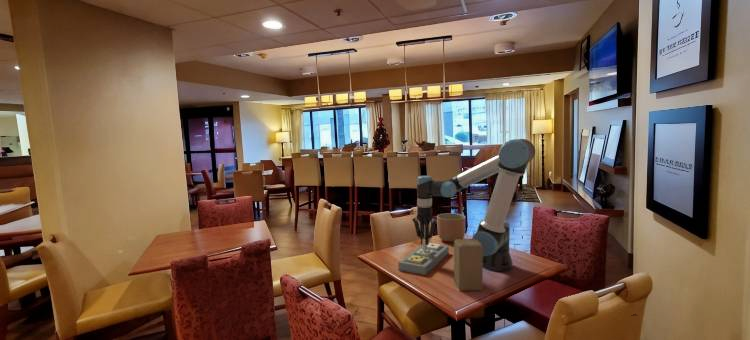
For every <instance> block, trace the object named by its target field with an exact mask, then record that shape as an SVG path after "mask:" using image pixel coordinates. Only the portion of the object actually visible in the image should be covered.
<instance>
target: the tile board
mask: <svg viewBox="0 0 750 340" xmlns="http://www.w3.org/2000/svg"><path fill="white" fill-rule="evenodd" d="M420 249H422V244H421V245H420V246H419V247H417V248H416V249H414V250H413V251H412V252H411V253H409V254H407V255H405V257H404V258H401V260H399V261H398V271H400V272H401V271H402V272H407V273H412V274H417V275H422V276H426V275H427V274H428V273H429V272H431V270H433V269H434V267H436V266H437V265H438V264H439V263H440V262H441V261H442V260H443V259H444V258H446V256H447V255H449V245H442V244H441V250H440V251H435V250H434V256H433V257H431V258H430V257H426V263H425V264H423V265H420V264H415V263H409V262H407V259H408V258H410V257H411V256H412V255H416V252H417V251H419V250H420ZM416 256H418V255H416ZM422 257H424V256H422ZM436 264H437V265H436Z"/></svg>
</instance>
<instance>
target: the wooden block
mask: <svg viewBox="0 0 750 340" xmlns="http://www.w3.org/2000/svg"><path fill="white" fill-rule="evenodd" d="M483 269H484V267H483V246H482V244H480V243H479V242H478V241H477V240H476V239H472V238H463V239H456V240H455V241H454V243H453V270H454V271H453V281H454V284H455V285H456V287H457V288H458V290H459V291H460V292H466V291H467V292H470V291H472V292H473V291H481V290H483V272H484V271H483Z"/></svg>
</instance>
